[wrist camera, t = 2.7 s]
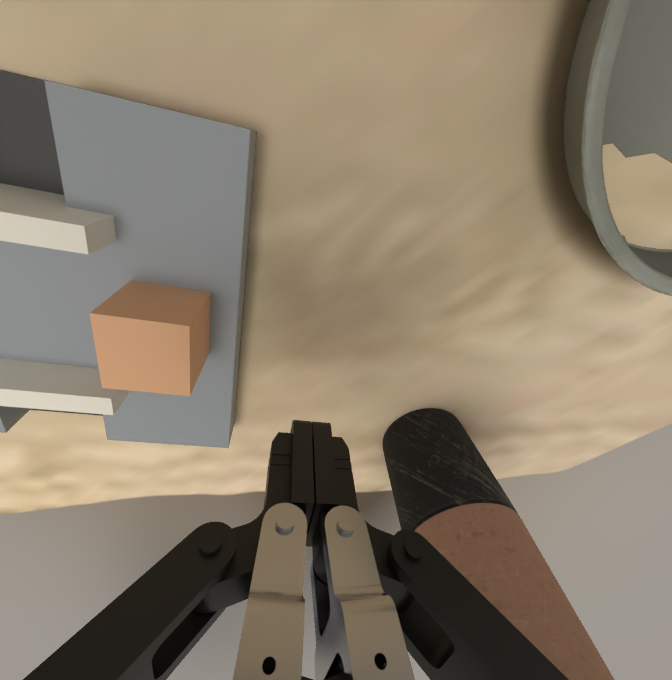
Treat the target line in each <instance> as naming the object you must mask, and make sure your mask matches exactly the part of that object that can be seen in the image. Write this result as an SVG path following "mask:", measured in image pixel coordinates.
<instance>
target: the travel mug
mask: <svg viewBox="0 0 672 680" xmlns="http://www.w3.org/2000/svg"><path fill="white" fill-rule="evenodd" d="M383 451H384V456H385V461H386V465H387V470H388V474H389V478H390V483H391V487H392V491H393V495H394V500H395V504H396V508H397V513H398V517H399V521H400V525H401V530H412V531H415V532H417V533H419V534H421V535H422V536H423V537H424V538H425V539H426V540H427V541H428V542H429V543H430V544H431V545H432V546H433V547H434V548H436V549H437V550H438V551H439V552H440V553H441V554H442V555H443V556H444V557H445V558H446V559H447V560H448V561H449V562H450V563H451V564H452V565H453V566H454V567H455V568H456V569H457V570H458V571H459V572H460V573H461V574H462V575H463V576H464V577H465V578H466V579H467V580H468V581H469V582H470V583H471V584H472V585H473V586H474V587H475V588H476V589H477V590H478V591H479V592H480V593H481V594H482V595H483V596H484V597H485V598H486V599H487V600H488V601H489V602H490V603H491V604H492V605H493V606H494V607H495V608H497V609H498V610H499V611H500V612H501V613H502V614H503V615H504V616H505V617H506V618H507V619H508V620H509V621H510V622H511V623H512V624H513V625H514V626H515V627H516V628H517V629H518V630H519V631H520V632H521V633H522V634H523V635H524V636H525V637H526V638H527V639H528V640H529V641H530V642H531V643H532V644H533V645H534V646H535V647H536V648H537V649H538V650H539V651H540V652H541V653H542V654H543V655H544V656H545V657H546V658H547V659H548V660H549V661H550V662H551V663H552V664H553V665H554V666H555V667H556V668H558V669H559V670H560V671H561V672H562V673H563V674H564V675H565V676H566V677H567V678H568V679H569V680H614V678H613V676H612V675H611V673H610V671H609V670H608V668H607V666H606V664H605V663H604V661H603V659H602V657H601V656H600V654H599V652H598V651H597V649H596V647H595V646H594V644H593V642H592V640H591V639H590V637H589V635H588V634H587V632H586V630H585V628H584V626H583V625H582V623H581V621H580V620H579V618H578V616H577V614H576V613H575V611H574V609H573V608H572V606H571V604H570V602H569V601H568V599H567V597H566V595H565V594H564V592H563V590H562V589H561V587H560V585H559V583H558V582H557V580H556V579H555V576H554V575H553V573H552V571H551V570H550V568H549V566H548V565H547V563H546V561H545V559H544V558H543V556H542V554H541V552H540V551H539V549H538V547H537V546H536V544H535V542H534V540H533V539H532V537H531V535H530V534H529V532H528V530H527V528H526V527H525V525H524V523H523V521H522V520H521V518H520V516H519V515H518V513H517V511H516V510H515V508H514V507H513V505H512V504H511V502H510V500H509V499H508V497H507V496H506V494H505V492H504V491H503V489H502V488H501V486H500V485H499V483H498V481H497V480H496V478H495V477H494V475H493V473H492V472H491V470H490V469H489V467H488V466H487V464H486V462H485V461H484V459H483V458H482V456H481V454H480V453H479V451H478V450H477V448H476V447H475V445H474V443H473V442H472V440H471V439H470V437H469V435H468V434H467V432H466V431H465V429H464V428H463V426H462V425H461V423H460V422H459V420H458V419H457V418H456V417H455V416H453V415H452V414H450V413H449V412H446V411H443V410H439V409H422V410H417V411H414V412H411V413H408V414H406V415H404V416H402V417H401V418H399V419H398V420H396V421H395V422H394V423H393V424H392V425H391V426H390V427H389V429H388V430H387V432H386V433H385V436H384V439H383Z"/></svg>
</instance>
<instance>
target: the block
mask: <svg viewBox="0 0 672 680" xmlns="http://www.w3.org/2000/svg"><path fill="white" fill-rule="evenodd" d="M210 296H211V292H206V291H200V290H193V289H186V288H179V287H173V286H166V285H159V284H153V283H146V282H139V281H133V280H131V281H129V282H128V283H127V284H126V285H124V286H123V287H122V288H121V289H119V290H118V291H117V292H116V293H114V294H113V295H112V296H110V297H109V298H108V299H107V300H105V301H104V302H103V303H102V304H100V305H99V306H98V307H96V308H95V309H94V310H93V311H91V312H90V313H89V314H90V320H91V326H92V332H93V338H94V343H95V349H96V355H97V361H98V367H99V373H100V379H101V385H102V388H108V389H119V390H130V391H140V392H151V393H161V394H172V395H182V396H190V395H191V393H192V391H193V389H194V386H195V384H196V382H197V380H198V377H199V375H200V373H201V371H202V368H203V366H204V364H205V362H206V359H207V357H208V355H209V337H210Z"/></svg>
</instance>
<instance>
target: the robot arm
mask: <svg viewBox="0 0 672 680" xmlns="http://www.w3.org/2000/svg"><path fill="white" fill-rule="evenodd" d="M306 546H312V548H313V560H312V563H311V567H310V576H311V588H312V599H313V611H314V622H315V633H316V651H315V680H415V678H414V674H413V670H412V667H411V663H410V659H409V655H408V652H409V653H410V654H411V656H412V657H413V658H414V659H415V661H416V662H417V663H418V665H419V666H420V667H421V668H422V670H423V671H424V672H425V673H426V675H427V676H428V677H429V678H430V680H569V679H568V678H567V677H566V676H565V675H564V674H563V673H562V672H561V671H560V670H559V669H558V668H556V667H555V666H554V665H553V664H552V663H551V662H550V661H549V660H548V659H547V658H546V657H545V656H544V655H543V654H542V653H541V652H540V651H539V650H538V649H537V648H536V647H535V646H534V645H533V644H532V643H531V642H530V641H529V640H528V639H527V638H526V637H525V636H524V635H523V634H522V633H521V632H520V631H519V630H518V629H517V628H516V627H515V626H514V625H513V624H512V623H511V622H510V621H509V620H508V619H507V618H506V617H505V616H504V615H503V614H502V613H501V612H500V611H499V610H498V609H497V608H495V607H494V606H493V605H492V604H491V603H490V602H489V601H488V600H487V599H486V598H485V597H484V596H483V595H482V594H481V593H480V592H479V591H478V590H477V589H476V588H475V587H474V586H473V585H472V584H471V583H470V582H469V581H468V580H467V579H466V578H465V577H464V576H463V575H462V574H461V573H460V572H459V571H458V570H457V569H456V568H455V567H454V566H453V565H452V564H451V563H450V562H449V561H448V560H447V559H446V558H445V557H444V556H443V555H442V554H441V553H440V552H439V551H438V550H437V549H436V548H434V547H433V546H432V545H431V544H430V543H429V542H428V541H427V540H426V539H425V538H424V537H423V536H422V535H421V534H419V533H417V532H415V531H412V530H401V531H399V532H397V533H396V534H395V535H391V534H389V533H386V532H383V531H381V530H378V529H376V528H374V527H372V526H371V525H369V524H368V523H367V522H366V521H365V520H364V518H363V517H362V515H361V514H360V512H359V510H358V506H357V499H356V493H355V487H354V480H353V474H352V468H351V462H350V455H349V448H348V447H347V445H346V443H345V442H344V440H343V439H342V438H341V437H332V432H331V424H330V423H322V422H312V423H311V422H310V421H299V420H293V422H292V427H291V432H290V433H281V432H278V434H277V435H276V437H275V438H274V440H273V441H272V446H271V452H270V459H269V465H268V473H267V482H266V492H265V501H264V510H263V511H262V513H261V514H260V515H259V516H258V517H257V518H256V519H255V520H254V521H252V522H250V523H248V524H246V525H242V526H239V527H236V528H233V529H231V527H229V526H228V525H226V524H224V523H221V522H209V523H206V524H203V525H201V526H199V527H198V528H197V529H195V530H194V531H193V532H192V533H191V534H189V535H188V536H187V537H186V538H185V539H184V540H183V541H182V542H180V543H179V544H178V545H177V546H176V547H175V548H173V549H172V550H171V551H170V552H169V553H168V554H167V555H165V556H164V557H163V558H162V559H161V560H160V561H158V562H157V563H156V564H155V565H154V566H153V567H152V568H150V569H149V570H148V571H147V572H146V573H145V574H144V575H143V576H141V577H140V578H139V579H138V580H137V581H136V582H134V583H133V584H132V585H131V586H130V587H129V588H128V589H126V590H125V591H124V592H123V593H122V594H121V595H119V596H118V597H117V598H116V599H115V600H114V601H113V602H112V603H110V604H109V605H108V606H107V607H106V608H105V609H103V610H102V611H101V612H100V613H99V614H98V615H97V616H95V617H94V618H93V619H92V620H91V621H90V622H89V623H87V624H86V625H85V626H84V627H83V628H82V629H81V630H79V631H78V632H77V633H76V634H75V635H74V636H72V637H71V638H70V639H69V640H68V641H67V642H66V643H64V644H63V645H62V646H61V647H60V648H59V649H58V650H57V651H55V652H54V653H53V654H52V655H51V656H50V657H48V658H47V659H46V660H45V661H44V662H43V663H41V664H40V665H39V666H38V667H37V668H36V669H35V670H34V671H32V672H31V673H30V674H29V675H28V676H27V677H25V678H24V679H23V680H166V679H167V678H168V677H169V675H170V674H171V673H172V672H173V670H174V669H175V668H176V667H177V666H178V665H179V663H180V662H181V661H182V660H183V659H184V657H185V656H186V655H187V654H188V653H189V652H190V650H191V649H192V648H193V647H194V646H195V644H196V643H197V642H198V641H199V640H200V638H201V637H202V636H203V635H204V634H205V633H206V631H207V630H208V629H209V628H210V627H211V625H212V624H213V623H214V622H215V621H216V619H217V618H218V617H219V616H220V615H221V613H222V612H223V611H224V610H225V608H226V607H228V606H231V605H233V604H236V603H238V602H241V601H243V600H246V599H248V601H247V606H246V611H245V617H244V622H243V627H242V633H241V638H240V643H239V649H238V654H237V660H236V665H235V670H234V676H233V680H312V679H309V678H306V677H303V676H301V672H302V654H303V637H304V636H303V635H304V618H305V600H304V598H303V585H304V568H305V552H306ZM407 651H408V652H407Z"/></svg>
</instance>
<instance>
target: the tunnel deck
mask: <svg viewBox="0 0 672 680" xmlns="http://www.w3.org/2000/svg"><path fill="white" fill-rule="evenodd" d="M256 135H257V132H256V131H254V130H251V129H247V128H243V127H238V126H234V125H230V124H226V123H222V122H218V121H213V120H209V119H205V118H201V117H197V116H192V115H188V114H184V113H180V112H176V111H172V110H167V109H163V108H159V107H155V106H151V105H147V104H142V103H138V102H134V101H130V100H126V99H121V98H117V97H113V96H109V95H105V94H101V93H96V92H92V91H88V90H84V89H80V88H76V87H71V86H67V85H63V84H59V83H55V82H50V81H46V80H44V81H43V80H39V79H35V78H31V77H27V76H22V75H18V74H14V73H10V72H6V71H2V70H0V432H4V433H6V432H7V431H8V430H9V429H10V428H11V427H12V426H13V425H14V424H15V423H16V422H18V421H19V420H20V419H21V418H22V417H23V416H24V415H25V414H26V413H27V412H28V411H29V410H41V411H53V412H65V413H78V414H90V415H102V416H103V418H104V423H105V429H106V435H107V440H119V441H134V442H148V443H162V444H177V445H191V446H206V447H220V448H229V444H230V439H231V435H232V431H233V427H234V421H235V408H236V395H237V382H238V369H239V356H240V343H241V330H242V317H243V304H244V291H245V278H246V265H247V252H248V239H249V226H250V213H251V200H252V187H253V174H254V161H255V148H256ZM131 280H133V281H139V282H146V283H153V284H159V285H166V286H173V287H179V288H186V289H193V290H200V291H206V292H211V296H210V337H209V355H208V357H207V359H206V362H205V364H204V366H203V368H202V371H201V373H200V375H199V377H198V380H197V382H196V384H195V386H194V389H193V391H192V393H191V395H190V396H182V395H172V394H161V393H151V392H140V391H130V390H119V389H108V388H102V385H101V379H100V373H99V367H98V361H97V355H96V349H95V343H94V338H93V332H92V326H91V320H90V314H89V313H90V312H91V311H93V310H94V309H95V308H96V307H98V306H99V305H100V304H102V303H103V302H104V301H105V300H107V299H108V298H109V297H110V296H112V295H113V294H114V293H116V292H117V291H118V290H119V289H121V288H122V287H123V286H124V285H126V284H127V283H128V282H129V281H131Z"/></svg>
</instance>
